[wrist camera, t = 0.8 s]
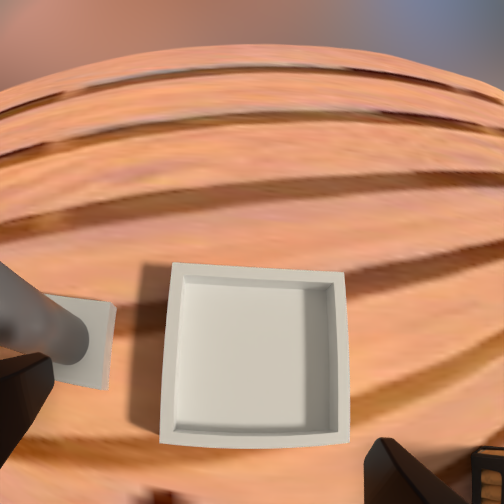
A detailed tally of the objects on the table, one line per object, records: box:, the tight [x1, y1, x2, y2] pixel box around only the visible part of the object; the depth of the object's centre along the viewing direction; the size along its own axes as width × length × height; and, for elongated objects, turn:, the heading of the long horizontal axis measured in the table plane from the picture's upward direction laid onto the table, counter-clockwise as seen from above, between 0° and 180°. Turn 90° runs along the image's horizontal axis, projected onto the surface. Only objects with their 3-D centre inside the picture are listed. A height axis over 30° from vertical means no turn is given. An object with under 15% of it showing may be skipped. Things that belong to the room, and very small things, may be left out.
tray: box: [160, 262, 350, 449], centre depth 20 cm, size 12×12×2 cm
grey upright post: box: [0, 262, 117, 390], centre depth 14 cm, size 6×6×14 cm
